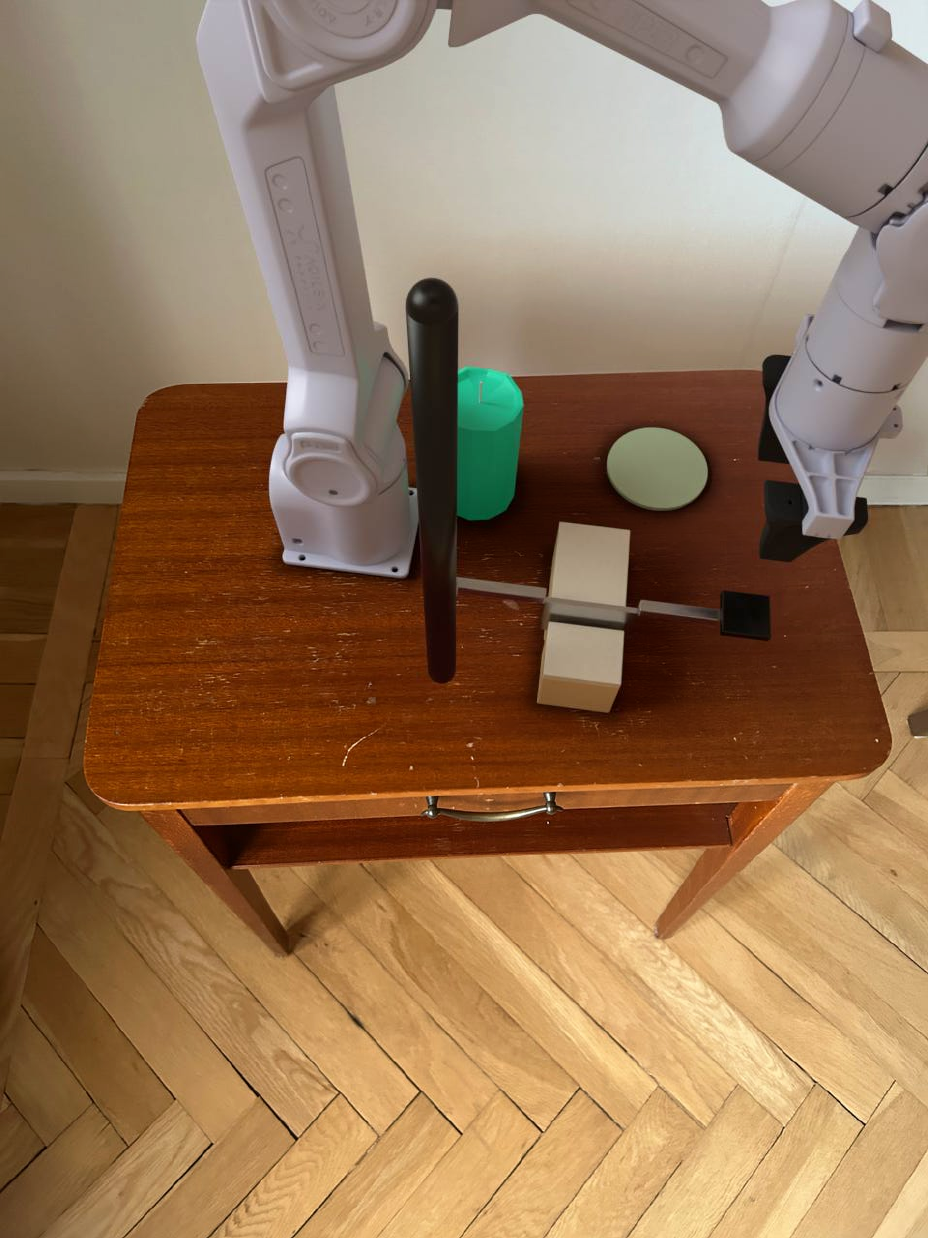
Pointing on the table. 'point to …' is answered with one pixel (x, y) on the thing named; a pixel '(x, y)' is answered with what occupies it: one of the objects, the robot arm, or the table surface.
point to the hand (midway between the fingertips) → (774, 505)
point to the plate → (657, 469)
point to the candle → (487, 441)
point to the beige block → (581, 667)
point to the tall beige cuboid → (590, 564)
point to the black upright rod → (437, 507)
